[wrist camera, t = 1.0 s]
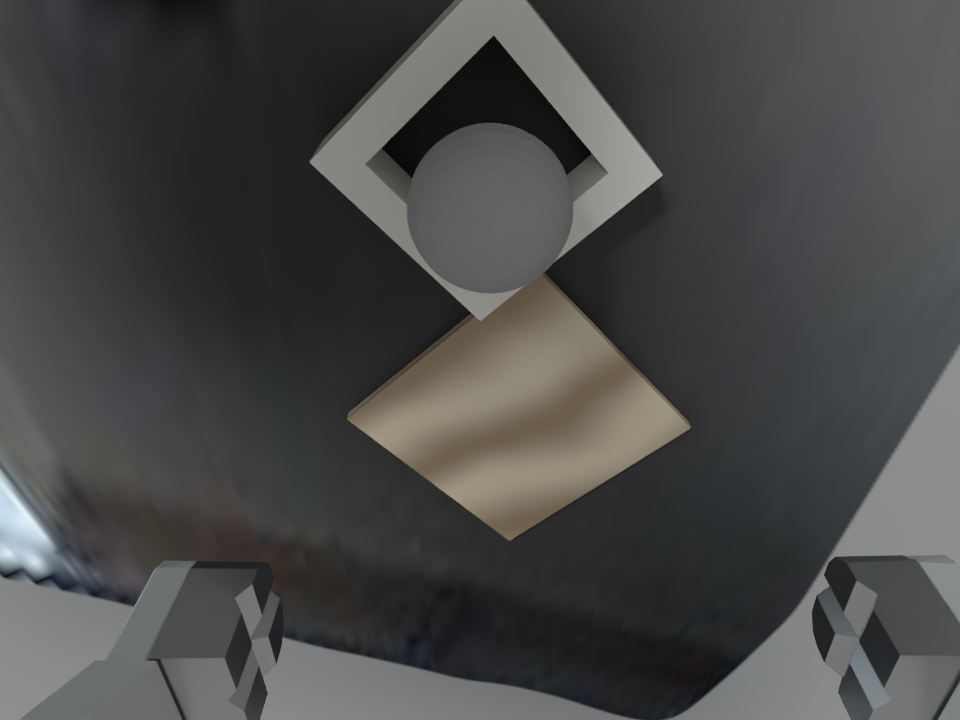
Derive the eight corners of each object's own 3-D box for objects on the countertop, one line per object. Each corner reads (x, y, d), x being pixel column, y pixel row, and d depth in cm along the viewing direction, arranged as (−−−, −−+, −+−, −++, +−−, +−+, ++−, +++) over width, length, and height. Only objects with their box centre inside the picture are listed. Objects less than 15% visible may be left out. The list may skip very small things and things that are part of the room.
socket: (323, 139, 28) (308, 162, 26) (494, -43, 25) (497, -36, 22) (479, 288, 32) (480, 321, 30) (646, 151, 29) (663, 175, 26)
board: (348, 412, 36) (347, 419, 36) (534, 262, 32) (535, 267, 31) (508, 533, 42) (509, 541, 41) (688, 421, 37) (690, 428, 36)
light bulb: (526, 54, 27) (551, 124, 18) (567, 181, 29) (604, 291, 21) (399, 106, 28) (368, 195, 19) (450, 224, 30) (442, 345, 22)
